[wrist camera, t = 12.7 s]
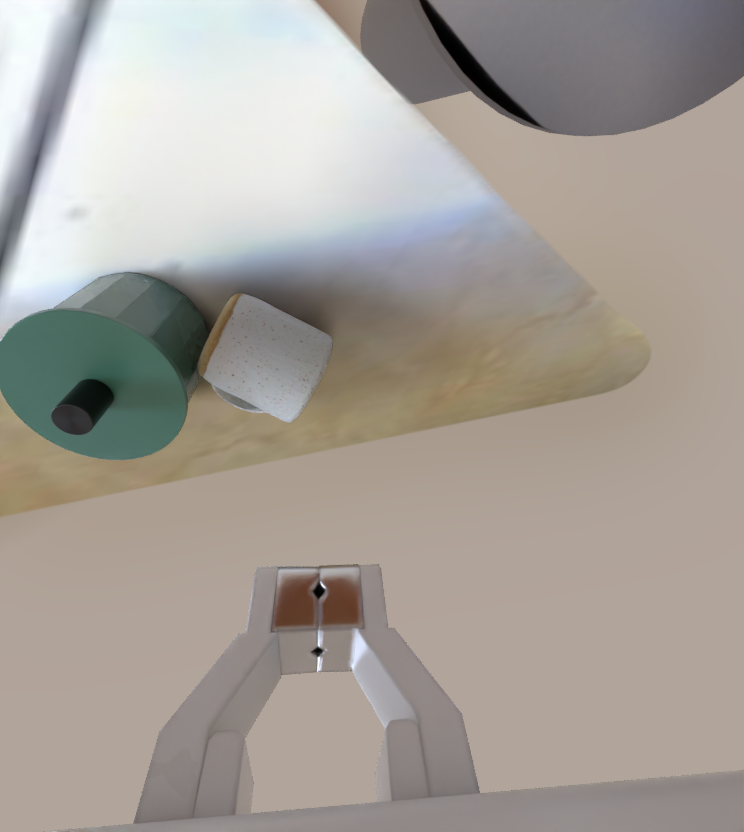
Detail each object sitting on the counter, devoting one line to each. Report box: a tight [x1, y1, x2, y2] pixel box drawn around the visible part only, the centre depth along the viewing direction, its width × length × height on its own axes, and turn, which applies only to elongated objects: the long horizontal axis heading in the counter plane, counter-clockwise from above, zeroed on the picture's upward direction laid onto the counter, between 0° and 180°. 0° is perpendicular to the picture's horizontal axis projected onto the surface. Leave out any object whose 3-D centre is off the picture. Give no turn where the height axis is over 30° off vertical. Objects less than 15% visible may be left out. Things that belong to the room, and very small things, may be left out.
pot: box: [54, 273, 209, 403], centre depth 31 cm, size 10×10×8 cm
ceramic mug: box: [197, 293, 333, 423], centre depth 33 cm, size 11×8×8 cm
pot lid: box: [0, 308, 188, 460], centre depth 26 cm, size 11×11×4 cm
